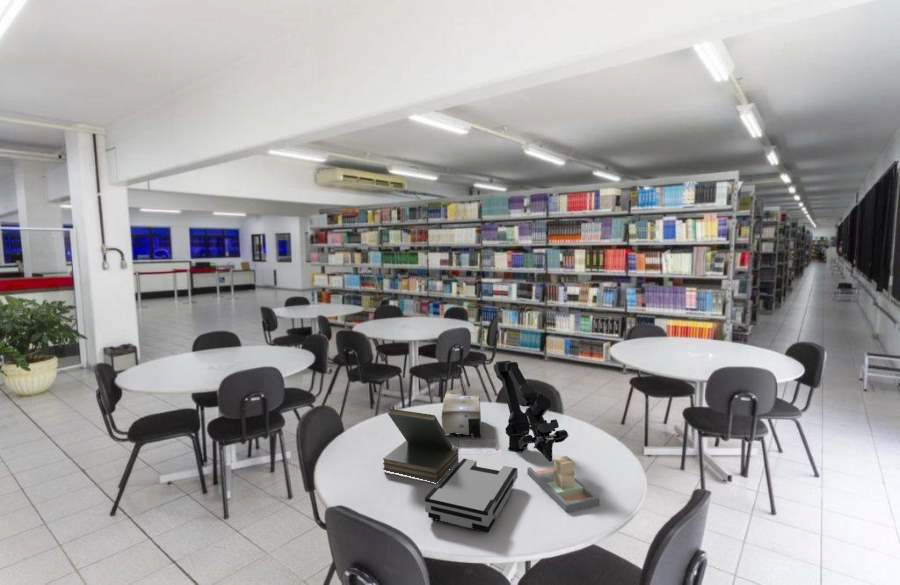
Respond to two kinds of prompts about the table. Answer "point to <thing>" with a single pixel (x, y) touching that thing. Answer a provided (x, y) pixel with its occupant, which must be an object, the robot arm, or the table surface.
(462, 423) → the projector
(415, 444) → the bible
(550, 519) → the table surface
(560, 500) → the box
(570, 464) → the block
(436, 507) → the game console
